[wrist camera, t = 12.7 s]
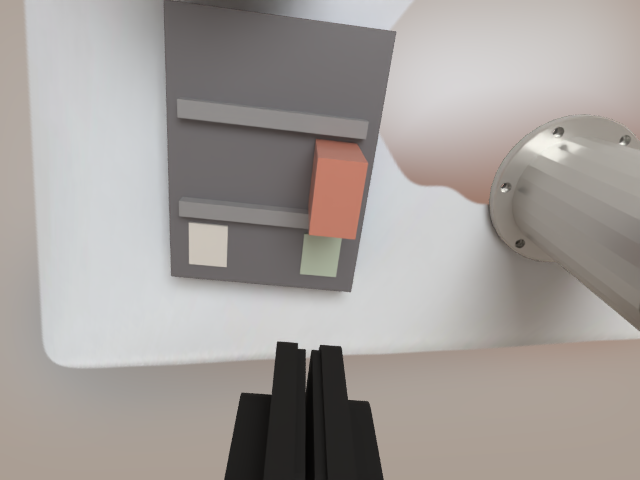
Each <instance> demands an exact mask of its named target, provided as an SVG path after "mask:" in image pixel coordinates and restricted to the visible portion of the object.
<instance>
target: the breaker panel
mask: <svg viewBox="0 0 640 480" xmlns="http://www.w3.org/2000/svg"><path fill="white" fill-rule="evenodd" d="M164 29H165V65H166V102H167V138H168V175H169V211H170V248H171V276H175V277H186V278H198V279H209V280H220V281H232V282H243V283H254V284H266V285H277V286H288V287H299V288H311V289H322V290H333V291H345V292H351V289H352V283H353V277H354V271H355V266H356V260H357V254H358V248H359V243H360V237H361V231H362V225H363V220H364V214H365V208H366V203H367V197H368V191H369V185H370V180H371V174H372V168H373V162H374V157H375V151H376V145H377V139H378V134H379V128H380V122H381V117H382V111H383V105H384V99H385V94H386V88H387V82H388V76H389V71H390V65H391V59H392V53H393V48H394V42H395V36H396V31H388V30H381V29H374V28H367V27H360V26H352V25H345V24H338V23H331V22H323V21H316V20H309V19H302V18H294V17H287V16H280V15H273V14H266V13H258V12H251V11H244V10H237V9H229V8H222V7H215V6H208V5H200V4H193V3H186V2H179V1H171V0H164ZM316 139H324V140H332V141H341V142H350V143H357V144H358V146H359V148H360V150H361V151H362V153H363V155H364V157H365V158H366V160H367V162H368V167H367V173H366V179H365V185H364V191H363V197H362V203H361V209H360V214H359V220H358V226H357V232H356V238H355V239H345V238H334V237H324V236H314V235H309V213H308V203H309V194H310V185H311V177H312V168H313V159H314V151H315V142H316Z"/></svg>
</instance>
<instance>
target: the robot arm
mask: <svg viewBox="0 0 640 480" xmlns="http://www.w3.org/2000/svg"><path fill="white" fill-rule="evenodd" d="M554 130H555V131H554ZM553 131H554V133H553ZM502 184H504V185H503V187H501V186H502ZM489 206H490V216H491V219H492V223H493V226H494V228H495V230H496V232H497V233H498V235H499V237H500V238H501V239H502V240H503V241H504V242H505V243H506V244H507V245H508V246H509V247H510V248H511V249H512V250H513V251H515V252H516V253H518V254H520V255H522V256H524V257H526V258H529V259H532V260H536V261H543V262H557V263H558V264H560V265H561V266H562V267H563V268H564V269H566V270H567V271H568V272H569V273H570V274H572V275H573V276H574V277H575V278H576V279H578V280H579V281H580V282H581V283H582V284H584V285H585V286H586V287H587V288H588V289H589V290H591V291H592V292H593V293H594V294H595V295H597V296H598V297H599V298H600V299H601V300H603V301H604V302H605V303H606V304H607V305H609V306H610V307H611V308H612V309H613V310H615V311H616V312H617V313H618V314H619V315H621V316H622V317H623V318H624V319H625V320H627V321H628V322H629V323H630V324H631V325H633V326H634V327H635V328H636V329H638V330H639V331H640V142H639V141H638V139H637V137H636V136H635V135H634V134H633V133H632V132H631V131H630V130H629V129H628V128H627V127H626V126H624V125H622V124H620V123H618V122H617V121H614V120H612V119H609V118H605V117H600V116H594V115H586V114H583V115H571V116H566V117H562V118H559V119H555V120H553V121H550V122H548V123H546V124H544V125H542V126H539V127H538V128H536V129H535V130H534V131H532V132H530V133H529V134H527V135H526V136H525V137H524V138H523V139H522V140H520V141H519V142H518V143H517V144H516V145H515V146H514V147H513V148H512V150H511V151H510V152H509V153H508V155H507V156H506V157H505V158H504V160H503V162H502V163H501V165H500V167H499V169H498V171H497V173H496V175H495V178H494V181H493V183H492V186H491V192H490V199H489ZM305 361H306V350H305V349H298V343H290V342H277V348H276V358H275V368H274V378H273V388H272V395H268V394H253V393H241V396H240V401H239V406H238V411H237V416H236V421H235V427H234V432H233V438H232V442H231V447H230V453H229V458H228V463H227V469H226V473H225V479H224V480H384V479H383V473H382V468H381V463H380V457H379V451H378V446H377V440H376V435H375V429H374V424H373V418H372V413H371V408H370V404H369V402H368V401H355V400H348V397H347V388H346V380H345V372H344V364H343V355H342V348H341V346H328V345H320V347H319V350H312V351H311V357H310V364H309V372H308V379H307V387H306V386H305V383H306V381H305V380H306V376H305V375H306V374H305V373H306V371H305V370H306V368H305V366H306V362H305ZM305 389H306V393H305Z"/></svg>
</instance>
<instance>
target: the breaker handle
mask: <svg viewBox="0 0 640 480" xmlns="http://www.w3.org/2000/svg"><path fill="white" fill-rule="evenodd" d="M367 167H368V162H367V160H366V158H365V157H364V155H363V153H362V151H361V150H360V148H359V146H358V144H357V143H350V142H341V141H332V140H324V139H316V142H315V151H314V159H313V168H312V177H311V185H310V194H309V203H308V213H309V235H314V236H324V237H334V238H345V239H355V238H356V232H357V226H358V220H359V214H360V209H361V203H362V197H363V191H364V185H365V179H366V173H367Z"/></svg>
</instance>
